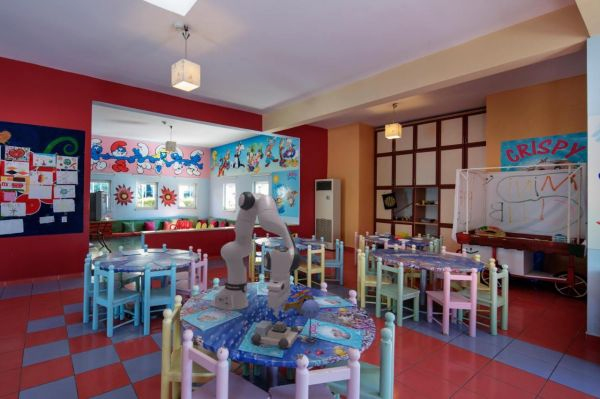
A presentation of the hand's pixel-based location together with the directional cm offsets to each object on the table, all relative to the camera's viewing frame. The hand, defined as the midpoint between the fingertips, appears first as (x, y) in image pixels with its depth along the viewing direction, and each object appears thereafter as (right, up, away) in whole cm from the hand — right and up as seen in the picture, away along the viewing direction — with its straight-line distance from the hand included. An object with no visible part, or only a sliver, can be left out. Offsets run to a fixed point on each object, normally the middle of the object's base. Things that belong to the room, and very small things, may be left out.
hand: (279, 311), depth 144 cm
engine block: (0, -11, 0) cm, 11 cm away
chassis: (-2, -13, +1) cm, 13 cm away
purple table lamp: (+14, -13, +2) cm, 20 cm away
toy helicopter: (+9, -13, +32) cm, 36 cm away
